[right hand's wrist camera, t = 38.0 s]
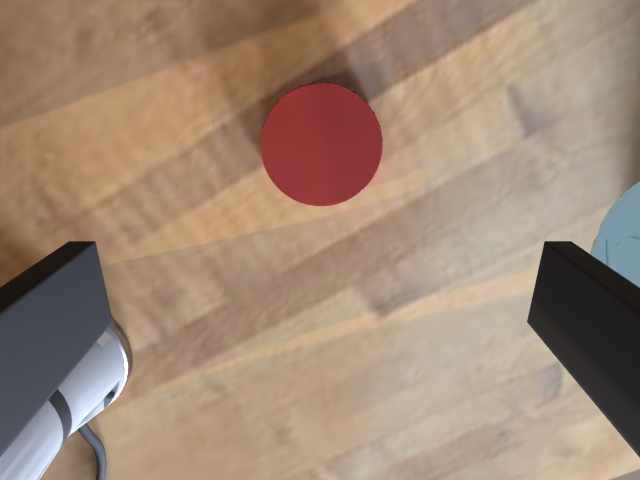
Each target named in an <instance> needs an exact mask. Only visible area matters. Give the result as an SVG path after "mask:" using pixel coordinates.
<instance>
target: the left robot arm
mask: <svg viewBox="0 0 640 480" xmlns="http://www.w3.org/2000/svg"><path fill="white" fill-rule="evenodd" d="M590 255H592V256H593V257H595V258H596V259H598V260H599V261H601V262H602V263H604V264H605V265H607V266H608V267H610V268H611V269H613V270H614V271H616V272H617V273H619V274H620V275H622V276H623V277H625V278H626V279H628V280H629V281H631V282H632V283H634V284H635V285H637V286H638V287H640V181H639V182H638V183H636V184H635V185H634V186H632V187H631V188H630V189H629V190H627V191H626V192H625V193H624V194H623V195H622V196H621V197H620V198H619V199H618V200H617V201H616V203H615V204H614V205H613V206H612V208H611V209H610V210H609V212H608V213H607V215H606V217H605V218H604V220H603V222H602V224H601V226H600V230H599V233H598V235H597V237H596V239H595V240H594V243H593V246H592V249H591V253H590Z"/></svg>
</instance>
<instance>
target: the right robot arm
mask: <svg viewBox="0 0 640 480" xmlns="http://www.w3.org/2000/svg"><path fill="white" fill-rule="evenodd" d="M527 322H528V324H529V325H530V326H531V327H532V328H533V330H534V331H535V332H536V333H537V335H538V336H539V337H540V338H541V339H542V341H543V342H544V343H545V344H546V345H547V347H548V348H549V349H550V350H551V351H552V353H553V354H554V355H555V356H556V357H557V359H558V360H559V361H560V362H561V363H562V365H563V366H564V367H565V368H566V369H567V371H568V372H569V373H570V374H571V375H572V377H573V378H574V379H575V380H576V381H577V383H578V384H579V385H580V386H581V387H582V389H583V390H584V391H585V392H586V393H587V395H588V396H589V397H590V398H591V399H592V401H593V402H594V403H595V404H596V405H597V407H598V408H599V409H600V410H601V411H602V413H603V414H604V415H605V416H606V417H607V419H608V420H609V421H610V422H611V424H612V425H613V426H614V427H615V428H616V430H617V431H618V432H619V433H620V434H621V436H622V437H623V438H624V439H625V440H626V442H627V443H628V444H629V445H630V446H631V448H632V449H633V450H634V451H635V452H636V454H637V455H638V456H639V457H640V287H638V286H637V285H635V284H634V283H632V282H631V281H629V280H628V279H626V278H625V277H623V276H622V275H620V274H619V273H617V272H616V271H614V270H613V269H611V268H610V267H608V266H607V265H605V264H604V263H602V262H601V261H599V260H598V259H596V258H595V257H593V256H592V255H590V254H589V253H587V252H586V251H584V250H583V249H581V248H580V247H579V246H577V245H576V244H574V243H573V242H571V241H545V242H544V247H543V252H542V256H541V261H540V265H539V270H538V275H537V279H536V284H535V288H534V293H533V297H532V302H531V307H530V311H529V316H528V320H527ZM131 369H132V352H131V347H130V344H129V342H128V339H127V337H126V335H125V333H124V332H123V330H122V329H121V327H120V326H119V324H118V323H117V322H116V321H115V320H114V319H113V318H112V316H111V311H110V307H109V302H108V297H107V293H106V288H105V284H104V279H103V275H102V270H101V265H100V261H99V256H98V252H97V247H96V243H95V241H69V242H67V243H66V244H64V245H63V246H61V247H60V248H59V249H57V250H56V251H54V252H53V253H51V254H50V255H48V256H47V257H45V258H44V259H42V260H41V261H39V262H38V263H36V264H35V265H33V266H32V267H30V268H29V269H27V270H26V271H24V272H23V273H21V274H20V275H18V276H17V277H15V278H14V279H12V280H11V281H9V282H8V283H6V284H5V285H3V286H2V287H0V480H39V479H40V478H41V476H42V475H43V473H44V472H45V470H46V469H47V467H48V466H49V464H50V463H51V461H52V460H53V458H54V457H55V455H56V454H57V452H58V451H59V449H60V448H61V446H62V445H63V444H64V442H65V441H66V439H67V438H68V437H69V435H71V434H72V433H73V432H75V431H76V430H77V429H78V431H79V432H80V433H81V435H82V436H83V437H84V439H85V440H86V441H87V442H88V443H89V444H90V445H91V446H92V448H93V449H94V451H95V454H96V459H97V475H96V480H105V473H106V455H105V450H104V447H103V444H102V442H101V441H100V440H99V438H98V437H97V436H96V435H95V434H94V433H93V431H92V430H91V429H90V427H89V426H88V424H87V423H86V422H88V421H89V420H90V419H92V418H93V417H94V416H95V415H97V414H98V413H99V412H101V411H102V410H103V409H105V408H106V407H107V406H108V405H109V404H110V403H112V402H113V401H114V400H115V399H116V397H117V396H118V395H119V393H120V392H121V390H122V389H123V387H124V385H125V384H126V382H127V380H128V378H129V376H130V373H131Z"/></svg>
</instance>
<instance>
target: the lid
mask: <svg viewBox="0 0 640 480" xmlns="http://www.w3.org/2000/svg"><path fill="white" fill-rule="evenodd" d="M355 93H356V92H354V91H353V92H352V91H351V90H349V89H347V88H345V87H343V86H342V85H341V86H339V85H336V84H331V83H329V82H327V83H315V82H313V83H311V84H307V85H304V86H301V85H300V86H299V87H298V88H296V89H294V90H293V91H291V92H287V94H286V95H285V96H284V97H282V98H281V99H280V100H279V101H277V102H276V104H275V106H274V107H273V108H272V110H271V111H270V112H269V113H268V116H267V118H266V121H265V123H264V126H263V127H262V128H263V130H262V134H261V140H260V141H261V155H262V160H263V164H264V167H265V169H266V171H267V173H268V175H269V177H270V179H271V180H272V181H273V183H274V184H275V185H276V186H277V187H278V188H279V189H280V190H281V191H282V192H283V193H284V194H286V195H287V196H288V197H290V198H292V199H293V200H296V201H298V202H300V203H303V204H307V205H311V206H332V205H336V204H340V203H343V202H345V201H347V200H349V199H351V198H353V197H354V196H356V195H357V194H359V193H360V192H361V191H362V190H363V189H364V188H365V187H366V186H367V185H368V184H369V183H370V181H371V180H372V178H373V177H374V175H375V173H376V171H377V169H378V166H379V163H380V160H381V155H382V135H381V130H380V125H379V123H378V121H377V119H376V116H375V113H374V112H373V111H372V110H371V108H370V107H369V106H368V104H367V103H366V101H365V100H363V99H362V98H361V97H359V96H358V95H357V94H355Z"/></svg>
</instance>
